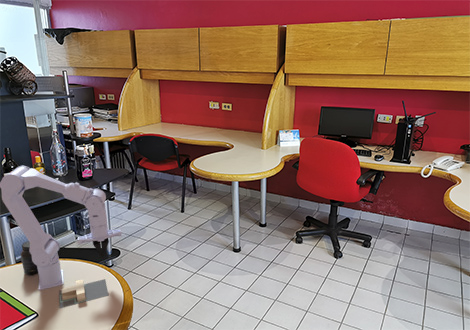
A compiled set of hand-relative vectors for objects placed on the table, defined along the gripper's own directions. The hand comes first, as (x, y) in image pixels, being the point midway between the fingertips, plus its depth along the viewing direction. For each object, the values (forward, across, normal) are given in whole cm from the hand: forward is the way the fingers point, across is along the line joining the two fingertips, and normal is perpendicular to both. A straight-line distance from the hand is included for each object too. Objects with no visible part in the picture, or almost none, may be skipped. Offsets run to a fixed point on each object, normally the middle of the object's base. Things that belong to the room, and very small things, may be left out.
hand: (102, 256), depth 128 cm
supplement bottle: (+10, -24, +16) cm, 30 cm away
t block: (+9, -11, -6) cm, 15 cm away
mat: (+9, -8, -6) cm, 14 cm away
